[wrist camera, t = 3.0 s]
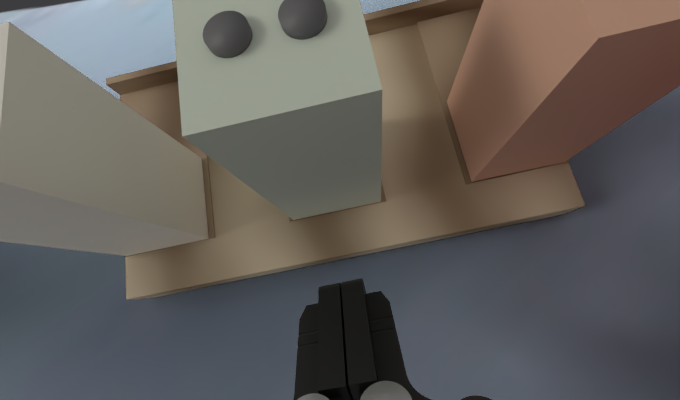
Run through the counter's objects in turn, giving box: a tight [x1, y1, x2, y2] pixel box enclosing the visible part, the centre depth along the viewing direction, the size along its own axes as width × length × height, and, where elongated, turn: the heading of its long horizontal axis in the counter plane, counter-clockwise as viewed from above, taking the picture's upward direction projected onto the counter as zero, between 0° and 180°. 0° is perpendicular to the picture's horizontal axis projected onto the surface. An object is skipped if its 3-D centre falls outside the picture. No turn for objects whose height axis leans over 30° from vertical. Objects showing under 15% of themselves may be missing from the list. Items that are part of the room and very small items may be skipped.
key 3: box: [447, 0, 680, 182], centre depth 12 cm, size 4×4×10 cm
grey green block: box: [172, 0, 382, 220], centre depth 13 cm, size 4×4×10 cm
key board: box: [106, 0, 586, 300], centre depth 19 cm, size 23×12×3 cm, turn 101°
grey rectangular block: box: [0, 22, 209, 256], centre depth 13 cm, size 4×4×10 cm
